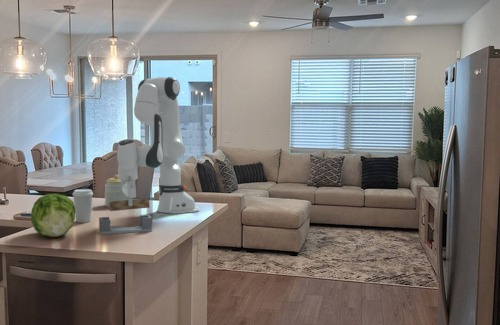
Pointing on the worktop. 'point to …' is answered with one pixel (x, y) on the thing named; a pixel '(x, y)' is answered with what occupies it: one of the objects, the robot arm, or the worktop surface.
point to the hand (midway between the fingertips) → (129, 204)
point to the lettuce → (53, 215)
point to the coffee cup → (83, 204)
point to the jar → (113, 190)
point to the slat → (124, 205)
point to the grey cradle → (144, 226)
